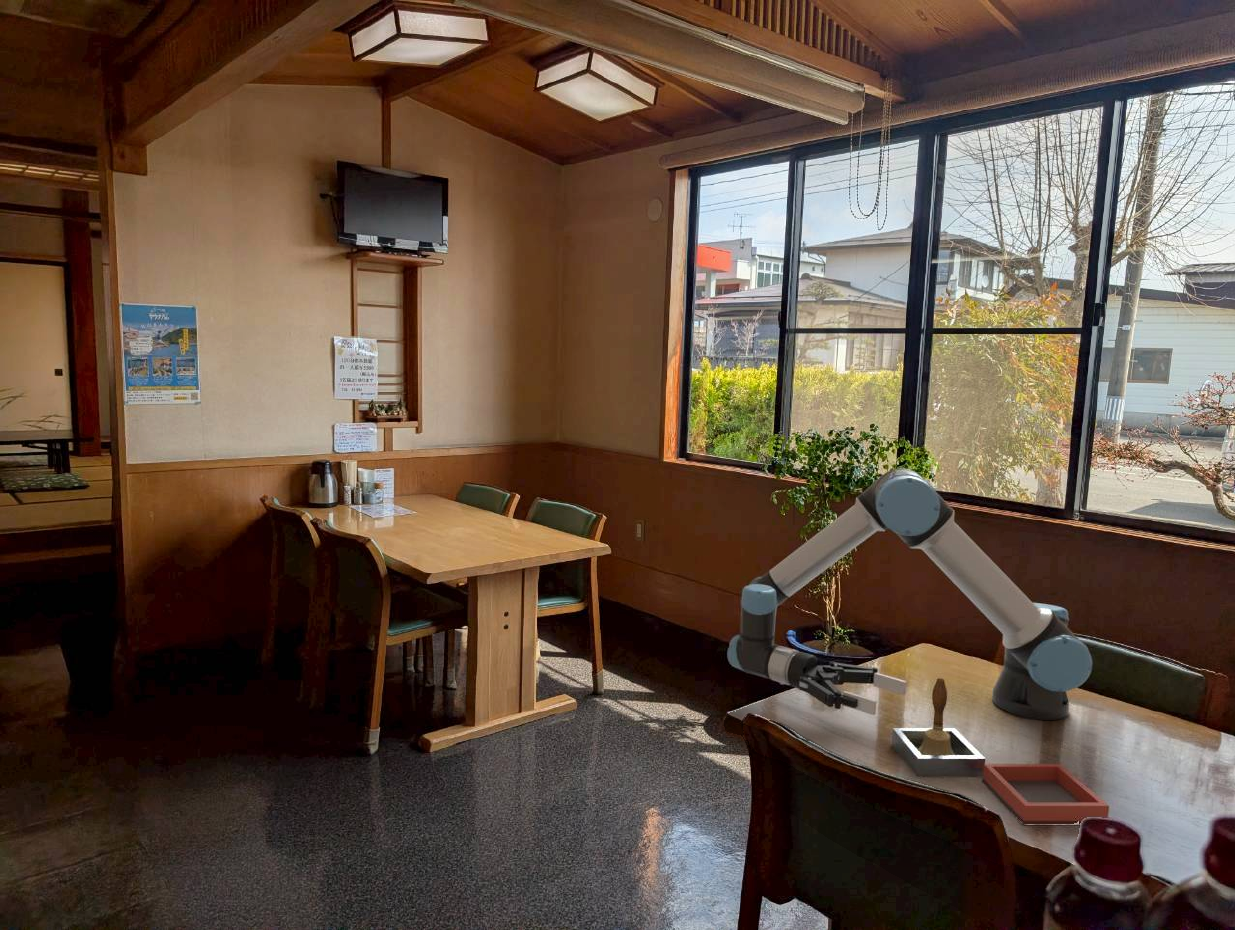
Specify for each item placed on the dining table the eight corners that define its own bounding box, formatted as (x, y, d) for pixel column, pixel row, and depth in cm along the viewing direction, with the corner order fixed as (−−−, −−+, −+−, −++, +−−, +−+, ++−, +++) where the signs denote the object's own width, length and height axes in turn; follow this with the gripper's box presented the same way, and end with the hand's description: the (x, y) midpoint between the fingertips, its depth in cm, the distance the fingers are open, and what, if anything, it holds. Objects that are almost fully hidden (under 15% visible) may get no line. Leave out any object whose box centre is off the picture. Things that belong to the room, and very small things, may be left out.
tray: (1058, 781, 149) (1059, 764, 148) (1107, 825, 135) (1109, 805, 134) (982, 781, 148) (983, 763, 148) (1023, 825, 134) (1025, 805, 134)
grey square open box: (953, 745, 162) (954, 728, 162) (983, 776, 150) (985, 758, 149) (891, 745, 162) (892, 728, 161) (917, 776, 149) (918, 758, 149)
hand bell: (917, 769, 152) (923, 686, 150) (908, 748, 160) (914, 669, 158) (964, 773, 151) (971, 690, 149) (953, 752, 159) (960, 673, 157)
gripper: (822, 670, 185) (915, 698, 171) (761, 702, 166) (860, 736, 152) (824, 638, 184) (918, 663, 170) (763, 666, 165) (862, 697, 151)
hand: (890, 697), depth 161 cm, fingers open, 13 cm apart
